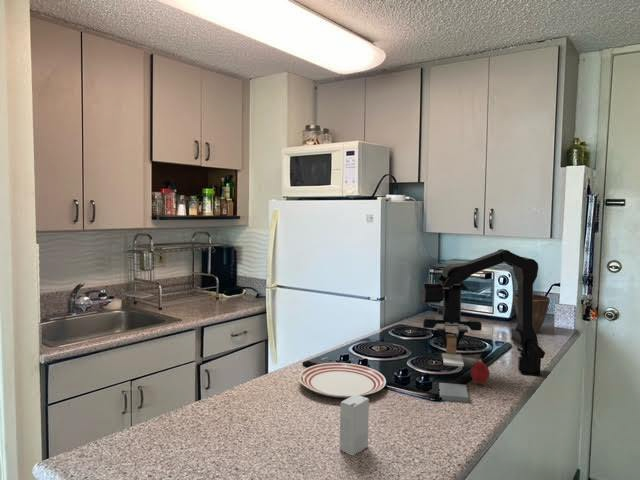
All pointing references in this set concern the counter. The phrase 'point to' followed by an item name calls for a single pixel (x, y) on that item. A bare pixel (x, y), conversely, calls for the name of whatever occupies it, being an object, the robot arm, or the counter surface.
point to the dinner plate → (342, 379)
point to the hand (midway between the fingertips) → (450, 348)
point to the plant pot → (536, 309)
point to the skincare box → (354, 424)
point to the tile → (453, 392)
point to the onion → (479, 372)
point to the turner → (452, 352)
